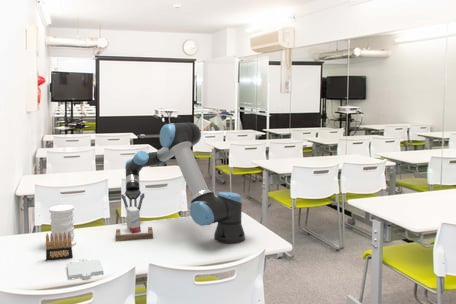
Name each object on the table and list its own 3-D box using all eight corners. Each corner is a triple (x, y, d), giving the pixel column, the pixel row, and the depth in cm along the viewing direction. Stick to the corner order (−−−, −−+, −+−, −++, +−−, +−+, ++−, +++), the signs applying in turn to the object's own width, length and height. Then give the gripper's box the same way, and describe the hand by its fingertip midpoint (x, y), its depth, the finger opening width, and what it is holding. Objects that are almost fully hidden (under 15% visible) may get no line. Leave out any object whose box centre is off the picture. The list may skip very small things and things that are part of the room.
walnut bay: (153, 238, 213) (153, 233, 213) (115, 241, 209) (115, 236, 209) (152, 231, 224) (152, 226, 223) (116, 233, 220) (116, 229, 220)
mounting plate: (66, 265, 181) (66, 261, 181) (98, 261, 186) (98, 256, 186) (69, 283, 165) (69, 278, 165) (104, 277, 170) (104, 273, 170)
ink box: (140, 232, 223) (140, 209, 221) (131, 233, 220) (130, 211, 219) (135, 227, 230) (135, 205, 229) (126, 228, 228) (125, 207, 226)
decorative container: (45, 244, 204) (43, 207, 202) (69, 238, 213) (67, 203, 210) (57, 250, 196) (55, 212, 194) (80, 244, 205) (79, 207, 202)
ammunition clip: (46, 261, 185) (44, 234, 183) (46, 259, 187) (45, 232, 185) (72, 258, 188) (71, 231, 186) (72, 256, 190) (71, 230, 188)
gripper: (144, 187, 249) (145, 224, 235) (121, 188, 246) (121, 225, 232) (144, 180, 243) (145, 217, 229) (120, 181, 240) (120, 219, 226)
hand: (133, 221), depth 231 cm, fingers closed
